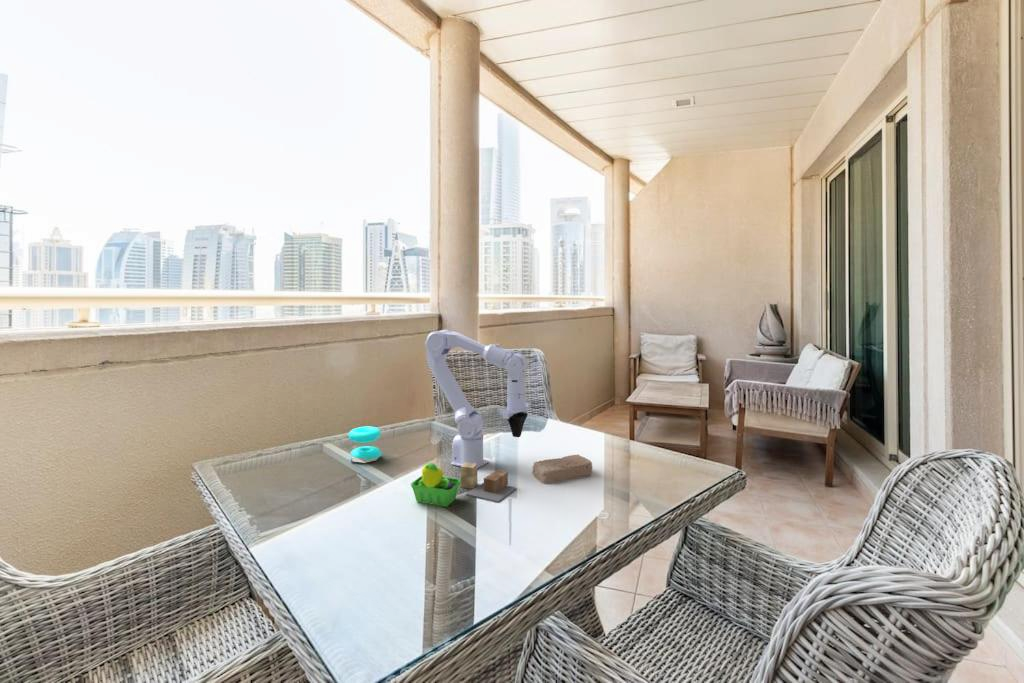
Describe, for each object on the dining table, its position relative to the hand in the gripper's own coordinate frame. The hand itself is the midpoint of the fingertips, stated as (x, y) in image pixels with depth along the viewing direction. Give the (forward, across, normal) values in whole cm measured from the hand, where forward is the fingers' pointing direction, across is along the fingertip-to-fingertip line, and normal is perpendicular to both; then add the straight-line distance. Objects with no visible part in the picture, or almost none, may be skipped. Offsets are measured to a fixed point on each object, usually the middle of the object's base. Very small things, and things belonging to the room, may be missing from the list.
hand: (516, 436), depth 153 cm
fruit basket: (+10, -32, +7) cm, 34 cm away
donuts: (+10, -17, +47) cm, 51 cm away
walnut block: (+8, -14, -3) cm, 16 cm away
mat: (+10, -20, -3) cm, 23 cm away
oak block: (+10, -19, +5) cm, 22 cm away
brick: (+10, +1, -15) cm, 18 cm away
